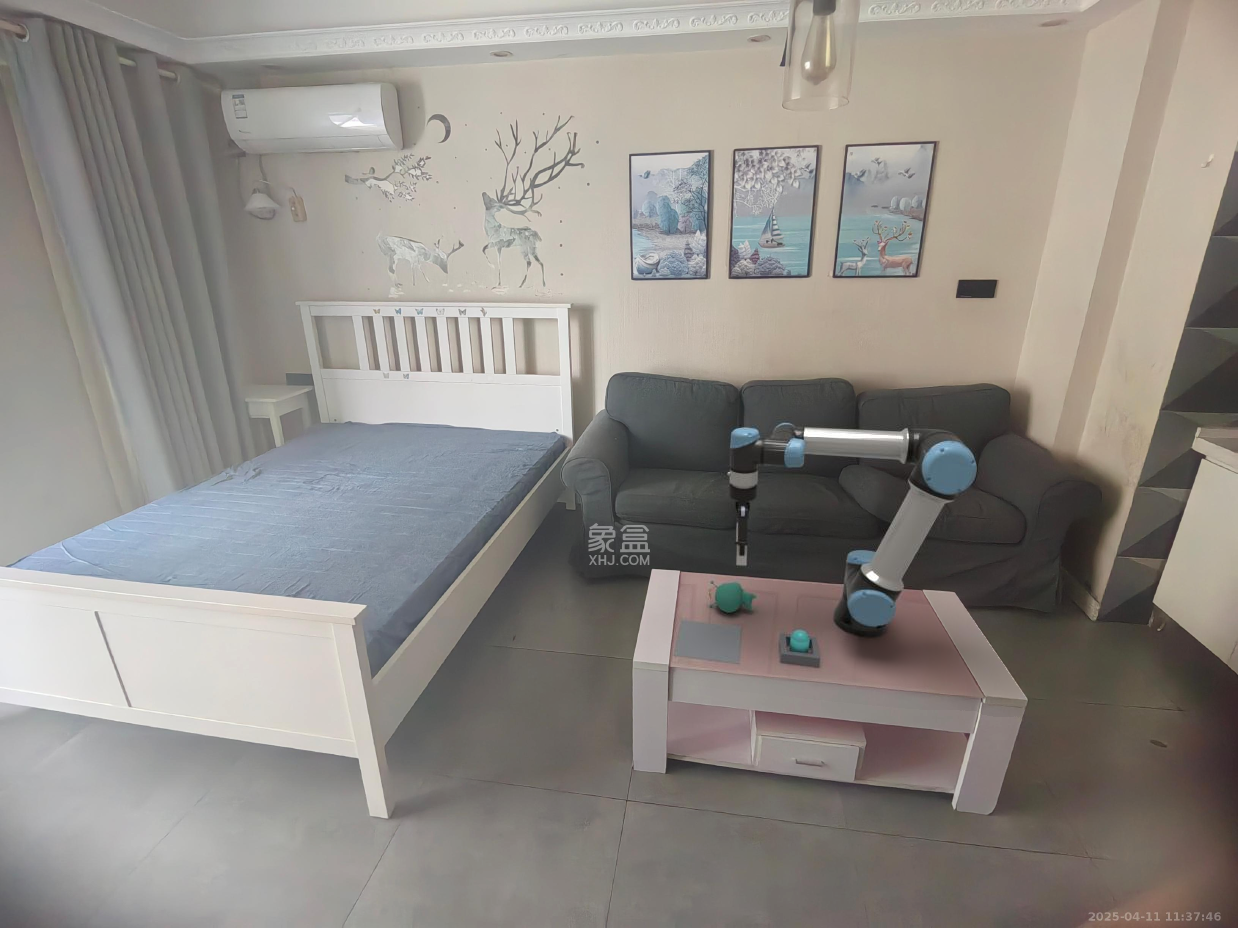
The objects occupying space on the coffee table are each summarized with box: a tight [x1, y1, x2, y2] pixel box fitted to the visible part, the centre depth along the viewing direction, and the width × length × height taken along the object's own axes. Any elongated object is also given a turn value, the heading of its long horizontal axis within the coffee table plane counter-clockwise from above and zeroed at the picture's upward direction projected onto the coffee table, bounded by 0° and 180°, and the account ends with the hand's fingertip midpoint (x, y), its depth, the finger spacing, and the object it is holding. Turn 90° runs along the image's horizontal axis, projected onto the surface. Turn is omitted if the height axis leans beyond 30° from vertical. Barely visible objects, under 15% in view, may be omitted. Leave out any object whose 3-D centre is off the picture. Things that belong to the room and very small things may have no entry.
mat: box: [673, 619, 742, 665], centre depth 177 cm, size 18×18×1 cm
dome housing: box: [779, 632, 821, 668], centre depth 170 cm, size 10×10×3 cm
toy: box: [707, 580, 757, 614], centre depth 192 cm, size 10×10×15 cm
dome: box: [789, 629, 810, 654], centre depth 170 cm, size 5×5×7 cm
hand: (741, 553), depth 175 cm, fingers open, 13 cm apart
